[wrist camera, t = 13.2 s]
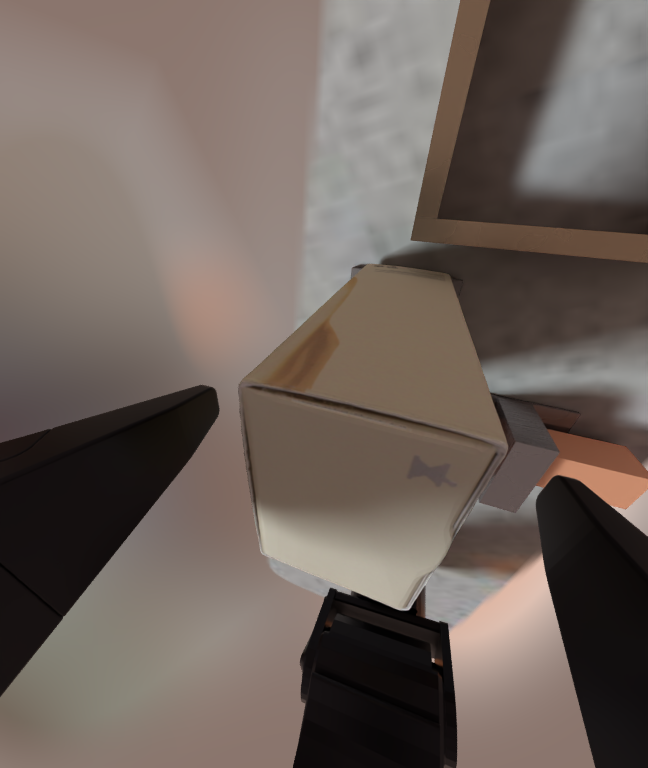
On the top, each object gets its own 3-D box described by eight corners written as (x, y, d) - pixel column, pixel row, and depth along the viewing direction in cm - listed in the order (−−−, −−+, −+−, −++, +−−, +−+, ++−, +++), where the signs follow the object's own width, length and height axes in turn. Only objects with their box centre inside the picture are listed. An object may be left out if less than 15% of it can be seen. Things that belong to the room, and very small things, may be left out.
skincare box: (365, 261, 14) (224, 358, 4) (452, 272, 13) (534, 429, 3) (350, 368, 18) (252, 561, 8) (419, 383, 17) (409, 625, 7)
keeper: (538, 468, 18) (565, 527, 14) (397, 432, 20) (391, 476, 16) (579, 412, 15) (622, 467, 12) (412, 378, 17) (409, 416, 14)
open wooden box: (663, 259, 11) (730, 270, 9) (413, 236, 13) (410, 240, 11) (1003, -249, 6) (1416, -583, 3) (494, -145, 8) (523, -303, 6)
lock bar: (597, 478, 16) (635, 535, 13) (442, 439, 18) (446, 482, 15) (630, 441, 15) (682, 497, 12) (457, 403, 17) (464, 443, 14)
